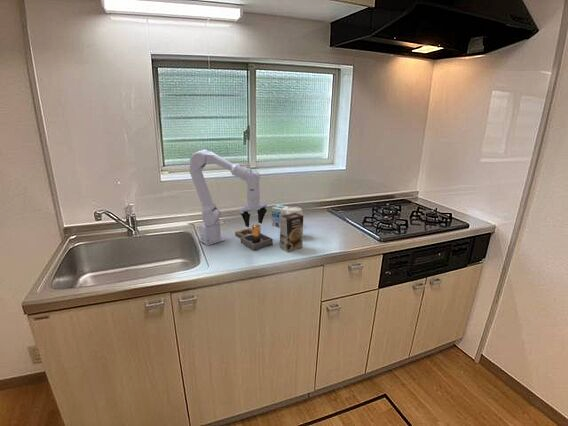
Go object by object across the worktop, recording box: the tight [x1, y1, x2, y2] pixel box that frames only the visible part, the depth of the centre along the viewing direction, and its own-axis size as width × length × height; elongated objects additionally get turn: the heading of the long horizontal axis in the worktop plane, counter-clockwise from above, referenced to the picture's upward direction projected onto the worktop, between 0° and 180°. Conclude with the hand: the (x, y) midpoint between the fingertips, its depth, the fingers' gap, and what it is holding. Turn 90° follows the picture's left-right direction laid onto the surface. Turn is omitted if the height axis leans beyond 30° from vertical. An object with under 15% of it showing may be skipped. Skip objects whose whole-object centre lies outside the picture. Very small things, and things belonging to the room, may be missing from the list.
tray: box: [240, 232, 273, 251], centre depth 153 cm, size 11×11×3 cm
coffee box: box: [279, 213, 304, 253], centre depth 147 cm, size 9×6×16 cm
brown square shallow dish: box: [234, 227, 252, 239], centre depth 162 cm, size 9×9×2 cm
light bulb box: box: [271, 204, 291, 228], centre depth 175 cm, size 11×7×11 cm, turn 62°
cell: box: [251, 223, 261, 244], centre depth 151 cm, size 4×4×9 cm
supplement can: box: [286, 206, 304, 216], centre depth 160 cm, size 8×8×15 cm
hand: (253, 224), depth 152 cm, fingers open, 7 cm apart
